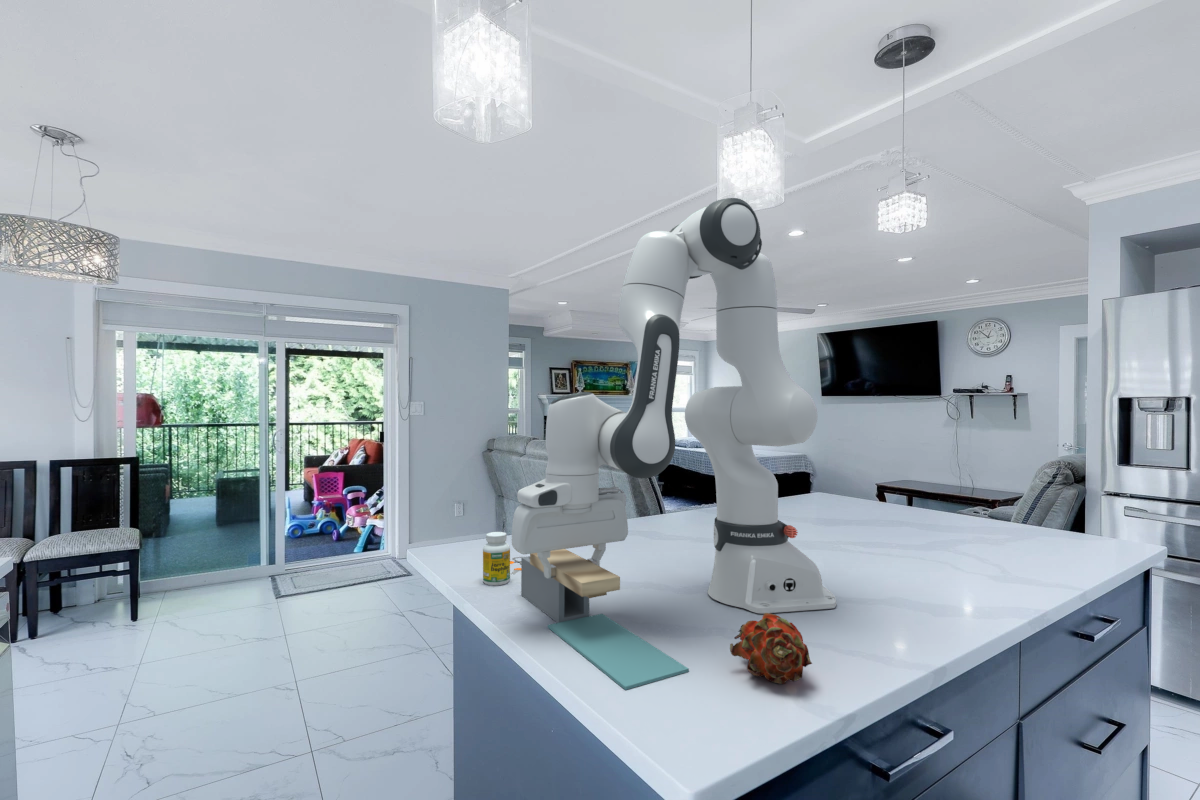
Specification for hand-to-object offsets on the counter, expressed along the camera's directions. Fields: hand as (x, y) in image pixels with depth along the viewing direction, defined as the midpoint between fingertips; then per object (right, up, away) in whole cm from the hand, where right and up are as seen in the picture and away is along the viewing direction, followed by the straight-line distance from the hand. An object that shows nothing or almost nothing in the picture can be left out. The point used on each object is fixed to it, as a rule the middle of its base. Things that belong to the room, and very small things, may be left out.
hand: (572, 573), depth 95 cm
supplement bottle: (-16, -8, +20) cm, 26 cm away
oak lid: (0, -1, 0) cm, 1 cm away
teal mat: (+6, -7, -11) cm, 15 cm away
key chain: (-13, -8, +32) cm, 35 cm away
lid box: (-4, -8, +6) cm, 10 cm away
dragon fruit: (+27, -8, -20) cm, 34 cm away
